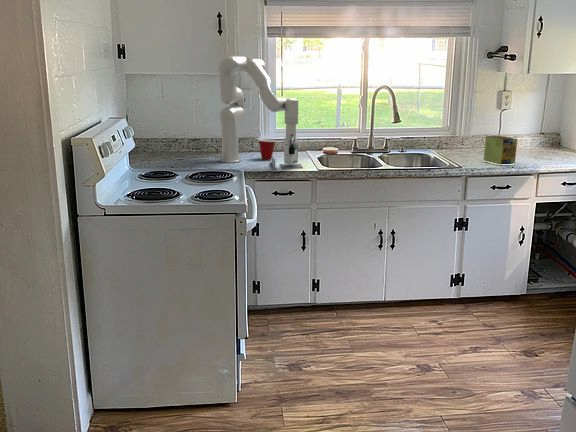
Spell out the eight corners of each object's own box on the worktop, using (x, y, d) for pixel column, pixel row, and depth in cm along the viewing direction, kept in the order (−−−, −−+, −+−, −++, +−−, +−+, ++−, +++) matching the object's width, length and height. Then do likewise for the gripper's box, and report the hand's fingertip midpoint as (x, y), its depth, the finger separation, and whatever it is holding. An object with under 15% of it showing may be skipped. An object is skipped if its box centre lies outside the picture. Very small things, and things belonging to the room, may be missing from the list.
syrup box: (292, 164, 334) (292, 138, 330) (283, 163, 336) (283, 137, 333) (297, 162, 338) (298, 137, 334) (289, 161, 341) (289, 136, 337)
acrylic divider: (271, 169, 327) (271, 160, 326) (269, 163, 346) (269, 154, 345) (277, 169, 327) (277, 160, 326) (274, 163, 347) (274, 154, 345)
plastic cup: (277, 160, 356) (277, 140, 353) (258, 160, 355) (258, 140, 352) (275, 157, 366) (275, 138, 363) (257, 157, 365) (257, 138, 362)
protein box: (500, 166, 343) (503, 139, 339) (482, 162, 357) (485, 136, 353) (515, 165, 347) (518, 138, 343) (497, 161, 361) (499, 135, 357)
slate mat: (281, 168, 331) (281, 167, 331) (279, 164, 343) (279, 163, 343) (302, 168, 332) (302, 167, 332) (300, 164, 344) (300, 163, 344)
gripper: (283, 119, 339) (282, 150, 344) (285, 123, 322) (285, 155, 327) (296, 119, 340) (295, 150, 345) (299, 123, 323) (299, 155, 328)
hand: (290, 152), depth 336 cm, fingers closed on syrup box, 7 cm apart
